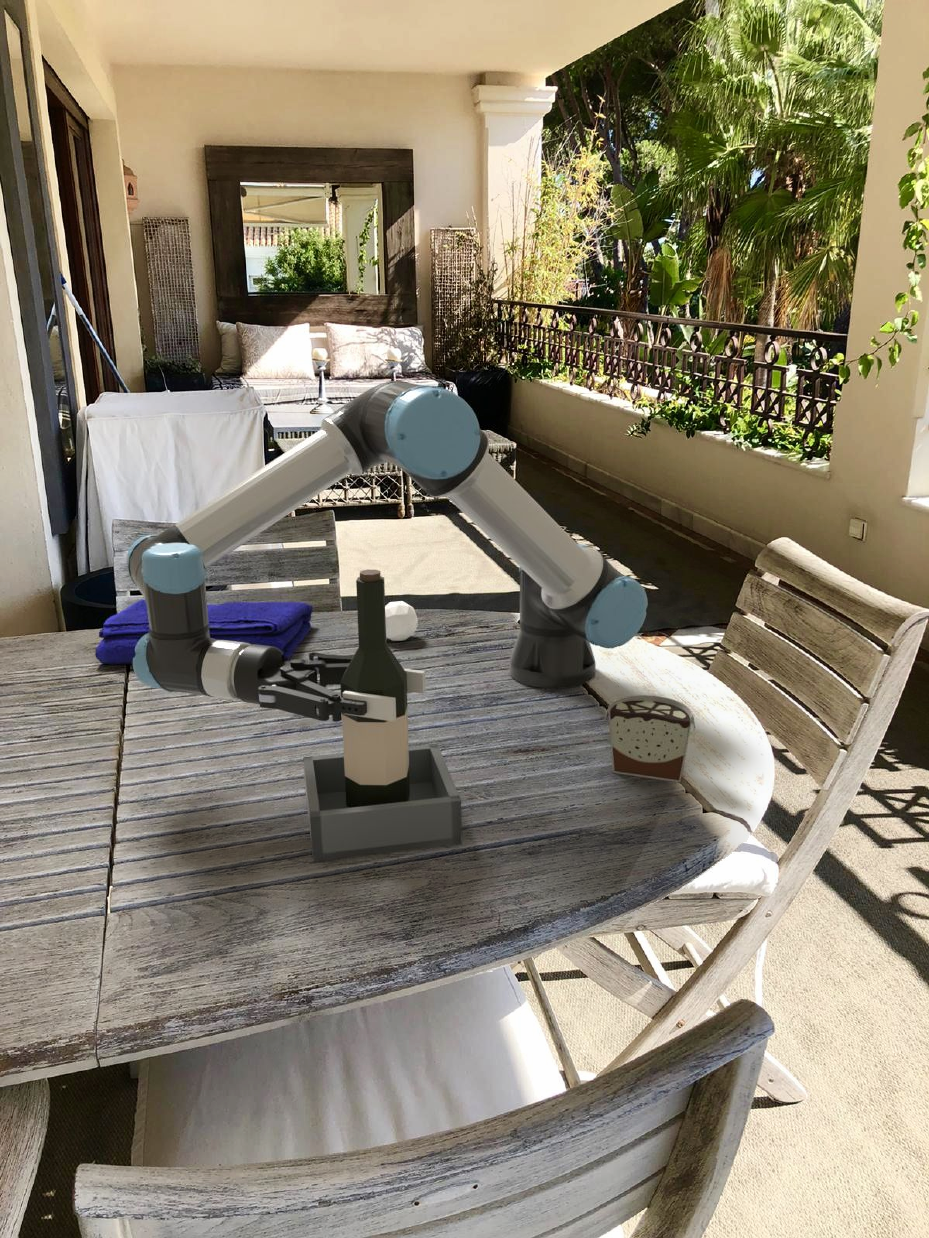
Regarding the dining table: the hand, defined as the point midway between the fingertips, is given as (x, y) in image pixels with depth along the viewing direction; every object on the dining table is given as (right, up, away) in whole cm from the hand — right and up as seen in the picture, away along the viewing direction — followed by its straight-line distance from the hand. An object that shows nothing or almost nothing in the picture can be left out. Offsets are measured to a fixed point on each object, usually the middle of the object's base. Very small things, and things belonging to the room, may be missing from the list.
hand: (409, 695), depth 118 cm
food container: (+33, -12, +20) cm, 40 cm away
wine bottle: (-4, -14, +6) cm, 16 cm away
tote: (-4, -17, +7) cm, 18 cm away
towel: (-42, +4, +71) cm, 83 cm away
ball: (-6, +5, +73) cm, 73 cm away
